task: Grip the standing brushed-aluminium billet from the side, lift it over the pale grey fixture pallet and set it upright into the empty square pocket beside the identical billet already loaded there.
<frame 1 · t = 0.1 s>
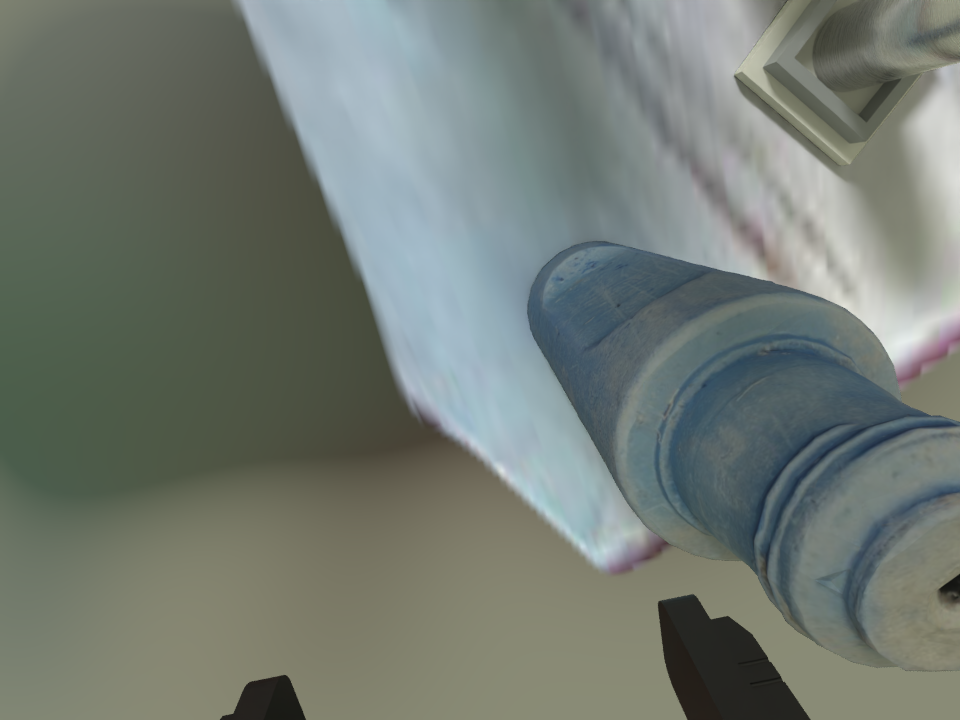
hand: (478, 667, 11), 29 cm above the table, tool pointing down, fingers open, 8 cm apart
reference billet: (850, 49, 34), point 1 cm above the table, touching pallet
bottle: (589, 306, 39), on the table
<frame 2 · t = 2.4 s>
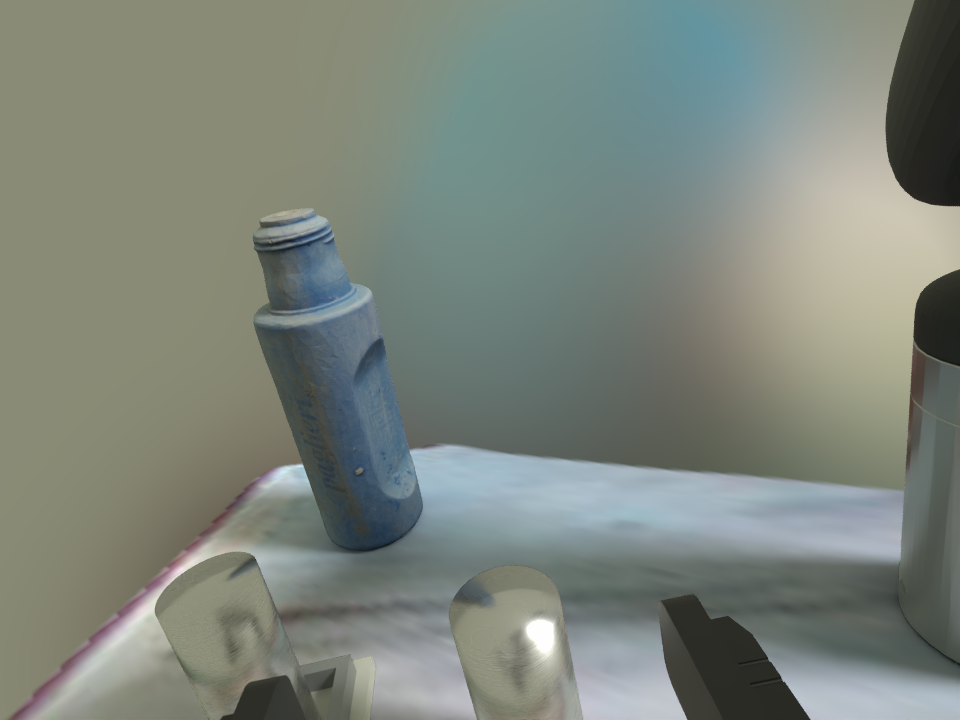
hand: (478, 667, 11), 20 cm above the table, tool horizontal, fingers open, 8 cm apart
bottle: (377, 518, 53), on the table
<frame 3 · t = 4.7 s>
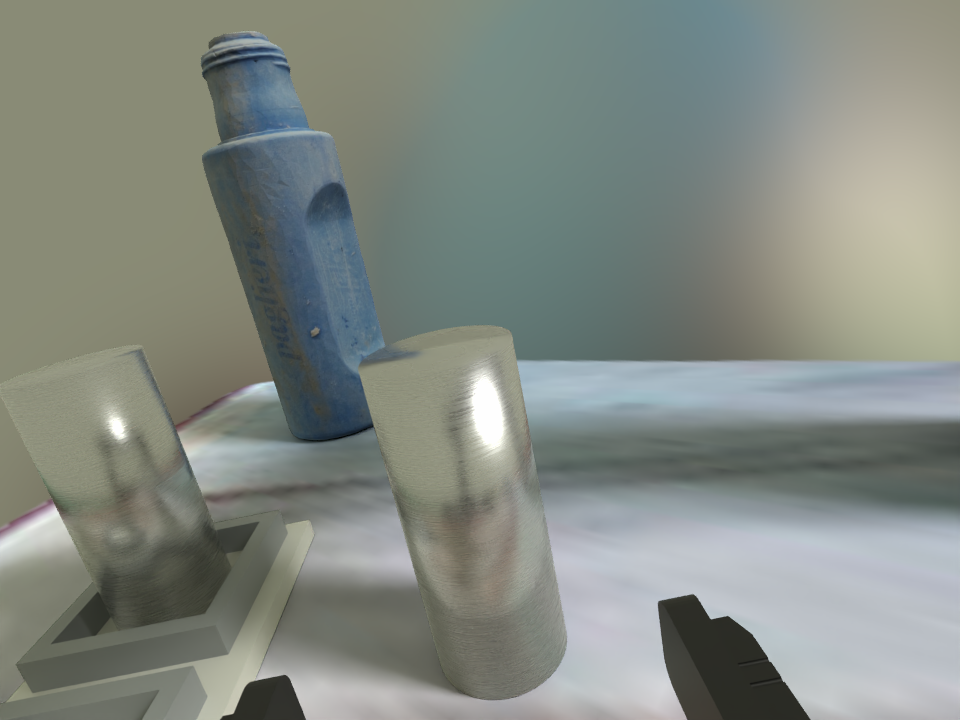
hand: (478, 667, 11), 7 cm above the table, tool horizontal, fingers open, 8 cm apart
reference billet: (179, 601, 25), point 1 cm above the table, touching pallet
billet: (502, 640, 21), on the table
bottle: (347, 419, 47), on the table
pallet: (126, 714, 21), on the table
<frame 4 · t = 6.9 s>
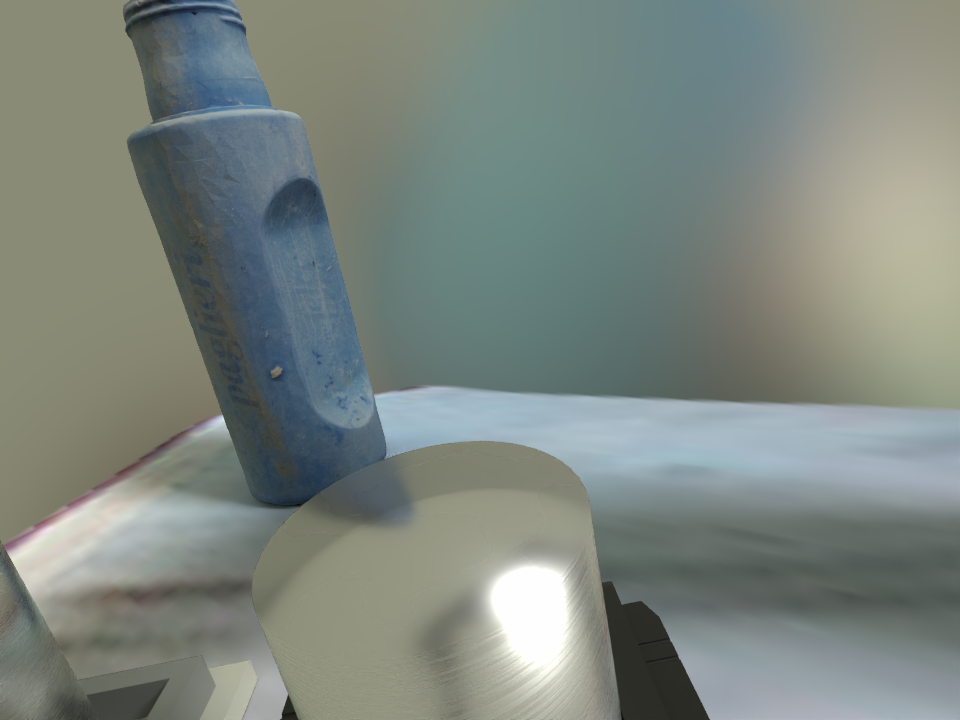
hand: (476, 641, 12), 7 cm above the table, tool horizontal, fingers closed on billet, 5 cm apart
bottle: (323, 472, 38), on the table
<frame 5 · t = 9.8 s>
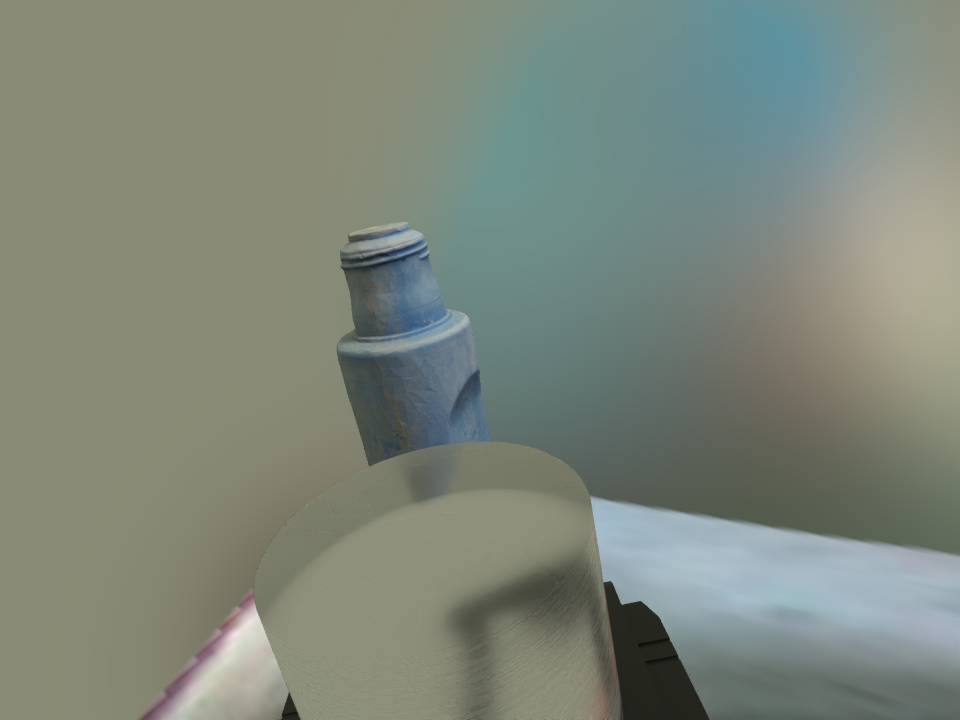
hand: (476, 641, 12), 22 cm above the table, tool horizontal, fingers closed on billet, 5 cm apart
bottle: (464, 585, 45), on the table
when the fingers open (10 cm above the table, at t = 13.1 s): billet drops 2 cm, resting on pallet.
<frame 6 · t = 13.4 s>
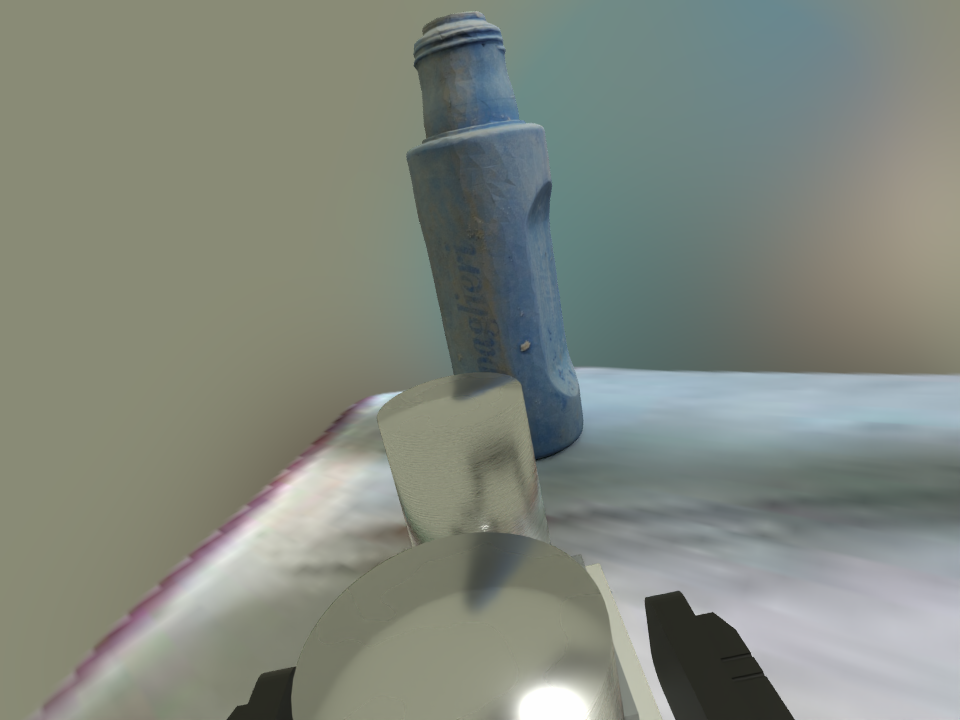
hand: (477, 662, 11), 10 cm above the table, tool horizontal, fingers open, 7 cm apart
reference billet: (511, 668, 22), point 1 cm above the table, touching pallet
bottle: (526, 437, 44), on the table
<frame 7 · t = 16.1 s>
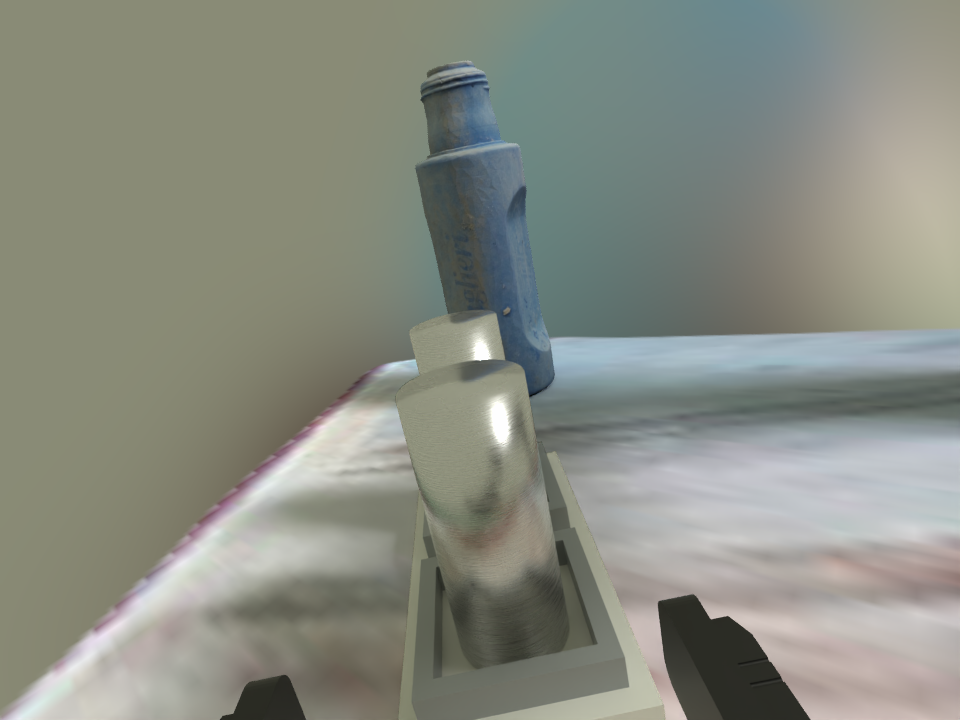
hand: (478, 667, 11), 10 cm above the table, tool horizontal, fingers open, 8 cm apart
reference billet: (493, 504, 34), point 1 cm above the table, touching pallet
billet: (513, 628, 24), point 1 cm above the table, touching pallet
bottle: (510, 386, 56), on the table
pallet: (504, 570, 29), on the table
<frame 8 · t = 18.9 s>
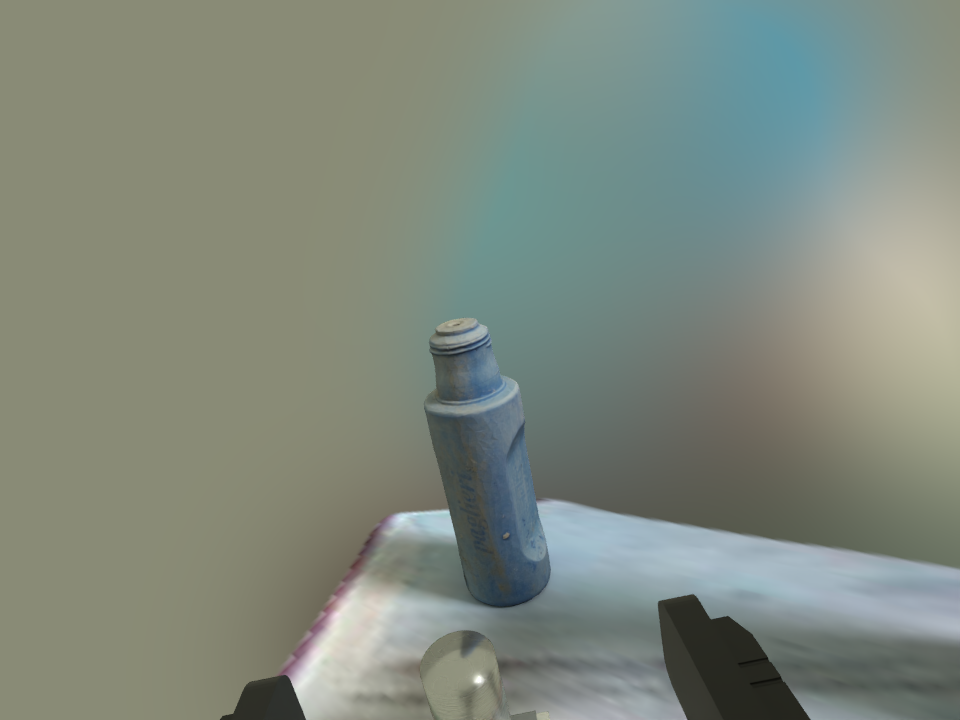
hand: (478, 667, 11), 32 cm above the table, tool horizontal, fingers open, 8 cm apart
bottle: (509, 578, 60), on the table
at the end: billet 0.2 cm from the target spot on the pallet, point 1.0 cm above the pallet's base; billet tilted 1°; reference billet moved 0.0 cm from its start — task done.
